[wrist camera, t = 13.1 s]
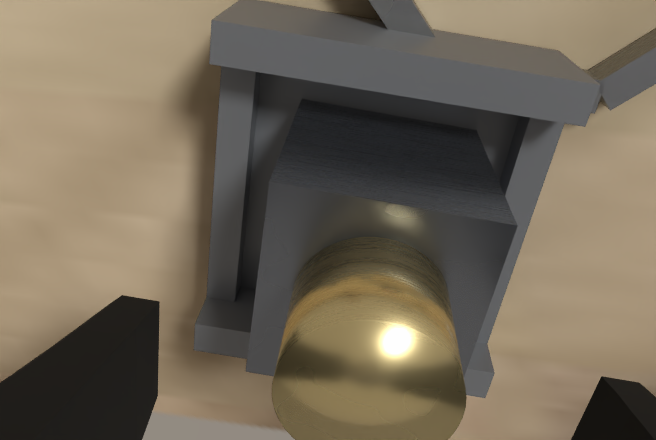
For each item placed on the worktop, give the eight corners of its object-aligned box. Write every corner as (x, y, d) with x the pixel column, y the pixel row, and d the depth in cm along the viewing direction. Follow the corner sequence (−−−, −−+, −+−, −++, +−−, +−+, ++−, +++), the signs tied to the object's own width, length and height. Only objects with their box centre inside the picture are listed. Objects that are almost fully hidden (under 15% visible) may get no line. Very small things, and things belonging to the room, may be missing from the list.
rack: (558, 50, 15) (600, 85, 12) (469, 325, 19) (485, 397, 16) (242, -3, 15) (211, 19, 12) (220, 283, 19) (193, 350, 16)
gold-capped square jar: (476, 130, 15) (554, 311, 8) (433, 276, 17) (468, 514, 10) (301, 98, 15) (240, 255, 8) (280, 249, 17) (217, 471, 10)
